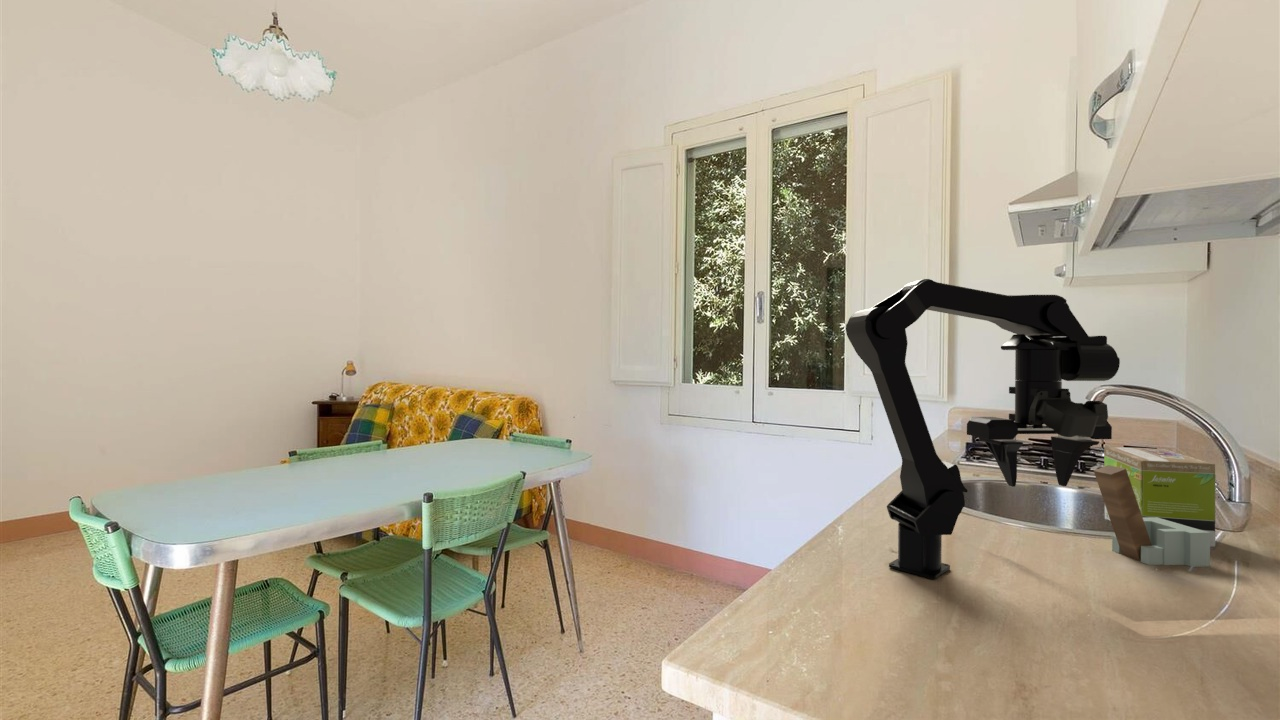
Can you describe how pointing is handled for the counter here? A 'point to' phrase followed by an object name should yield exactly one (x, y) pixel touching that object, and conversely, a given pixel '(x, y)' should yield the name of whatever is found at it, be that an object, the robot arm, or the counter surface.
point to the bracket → (1173, 544)
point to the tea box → (1169, 485)
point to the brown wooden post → (1123, 510)
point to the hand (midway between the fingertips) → (1037, 485)
